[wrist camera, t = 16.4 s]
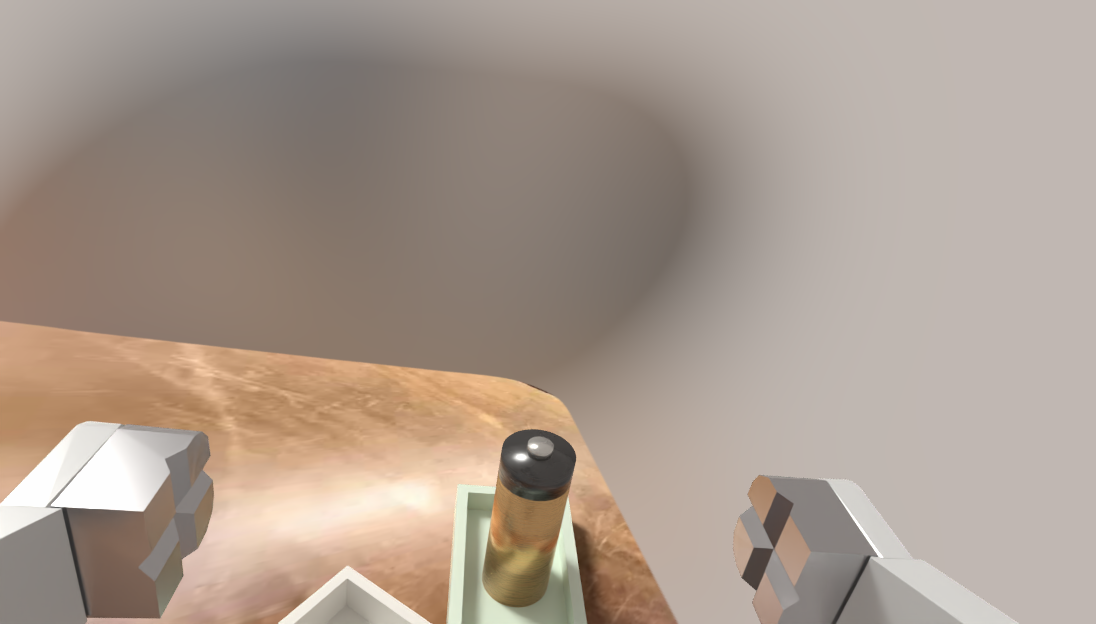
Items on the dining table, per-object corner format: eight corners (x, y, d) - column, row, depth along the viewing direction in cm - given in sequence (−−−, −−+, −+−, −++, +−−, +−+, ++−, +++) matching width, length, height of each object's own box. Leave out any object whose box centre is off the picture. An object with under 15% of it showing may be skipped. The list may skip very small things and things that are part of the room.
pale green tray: (584, 687, 39) (592, 660, 38) (441, 683, 37) (445, 655, 36) (562, 515, 51) (567, 491, 50) (454, 508, 50) (457, 484, 49)
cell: (468, 582, 43) (488, 446, 38) (506, 542, 47) (529, 413, 42) (524, 619, 41) (553, 481, 36) (559, 574, 45) (590, 443, 40)
